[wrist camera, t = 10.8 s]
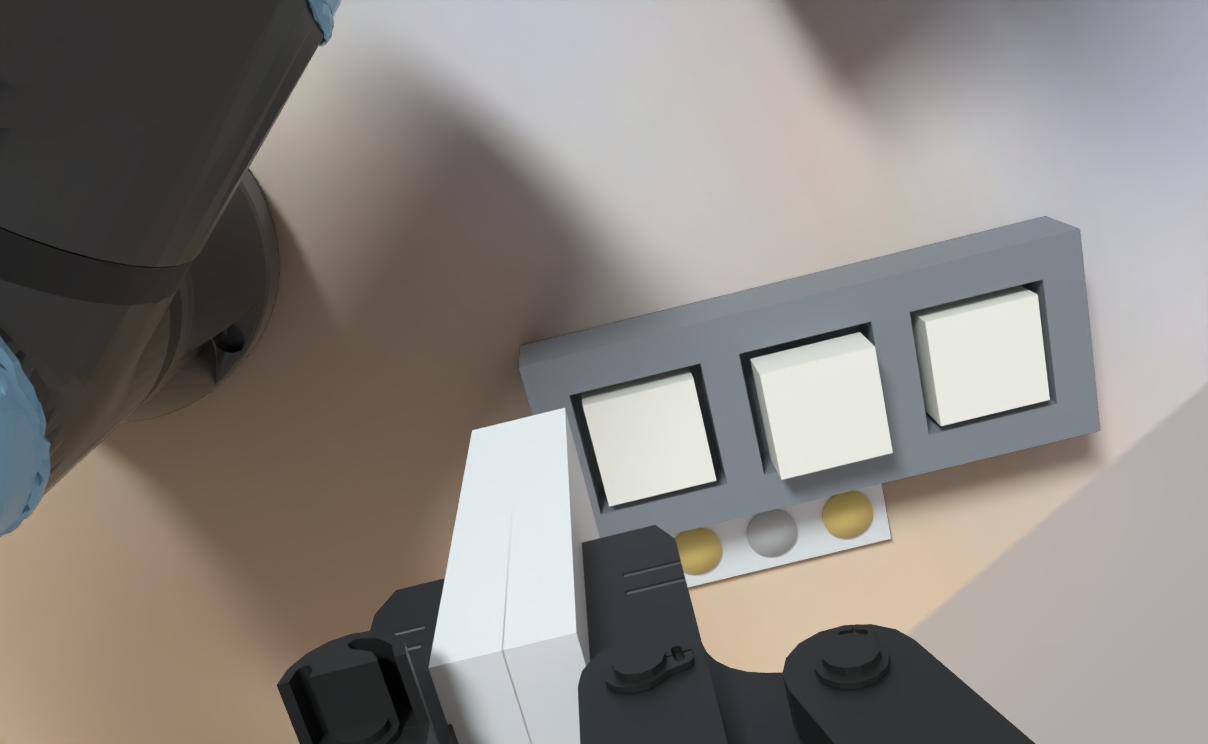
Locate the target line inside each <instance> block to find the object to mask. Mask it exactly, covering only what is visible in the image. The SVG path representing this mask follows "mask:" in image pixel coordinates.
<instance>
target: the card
mask: <svg viewBox="0 0 1208 744" xmlns="http://www.w3.org/2000/svg"><path fill="white" fill-rule="evenodd" d="M670 536H672V537H673V538H675V540H676V544H677V548H678V552H679V555H680V559H681V563H682V567H683V571H684V575H685V579H686V583H687V587H692V586H696V585H700V584H704V583H709V582H713V581H717V580H721V579H725V578H729V577H734V576H738V575H742V574H746V573H750V572H754V571H759V570H763V569H767V568H771V567H775V566H779V565H783V564H788V563H792V562H796V561H800V560H804V559H808V558H813V557H817V556H821V555H825V554H829V553H833V552H838V551H842V550H846V549H850V548H854V547H858V546H863V545H867V544H871V543H875V542H879V541H883V540H888V539H891V536H890V530H889V524H888V519H887V513H886V507H885V501H884V496H883V490H882V484H878V485H874V486H870V487H866V488H862V489H858V490H853V491H849V492H845V493H841V494H837V495H833V496H829V497H824V498H820V499H816V500H812V501H808V502H804V503H800V504H795V505H791V506H787V507H783V508H779V509H775V510H771V511H767V512H762V513H758V514H754V515H750V516H746V517H742V518H738V519H733V520H729V521H725V522H721V523H717V524H713V525H709V526H704V527H700V528H696V529H692V530H688V531H684V532H680V533H675V534H671V535H670Z"/></svg>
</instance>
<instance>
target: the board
mask: <svg viewBox="0 0 1208 744" xmlns="http://www.w3.org/2000/svg"><path fill="white" fill-rule="evenodd" d="M1018 285H1021V286H1022V287H1024V288H1026V289H1028V290H1030V291H1032V292H1034V293H1036V294H1037V295H1038V302H1039V310H1040V319H1041V327H1042V336H1043V345H1044V353H1045V362H1046V371H1047V379H1048V388H1049V397H1050V400H1047V401H1043V402H1039V403H1035V404H1031V405H1026V406H1022V407H1018V408H1014V409H1010V410H1006V411H1002V412H998V413H994V414H989V415H985V416H981V417H977V418H973V419H969V420H965V421H961V422H956V423H952V424H948V425H944V426H940V425H939V424H938V423H937V422H936V421H935V420H934V419H933V418H932V417H931V416H930V415H929V414H928V413H927V412H926V411H925V407H924V401H923V394H922V388H921V381H920V375H919V368H918V362H917V356H916V349H915V343H914V336H913V330H912V323H911V317H910V312H912V311H916V310H920V309H924V308H928V307H932V306H936V305H941V304H945V303H949V302H953V301H957V300H961V299H965V298H969V297H973V296H977V295H981V294H985V293H989V292H994V291H998V290H1002V289H1006V288H1010V287H1014V286H1018ZM858 332H860V333H861V334H862V335H863V336H864V337H866V338H867V339H868V340H869V341H870V342H871V343H872V344H873V345H874V346H875V349H876V355H877V361H878V367H879V373H880V379H881V385H882V391H883V397H884V403H885V409H886V415H887V421H888V427H889V433H890V439H891V445H892V451H893V453H890V454H886V455H882V456H878V457H874V458H870V459H866V460H862V461H857V462H853V463H849V464H845V465H841V466H837V467H833V468H828V469H824V470H820V471H816V472H812V473H808V474H804V475H800V476H795V477H791V478H787V479H783V480H781V478H780V476H779V474H778V472H777V470H776V469H775V467H774V465H773V463H772V461H771V458H770V453H769V448H768V443H767V439H766V434H765V429H764V424H763V419H762V414H761V410H760V405H759V400H758V395H757V390H756V385H755V381H754V376H753V371H752V366H751V361H750V359H752V358H756V357H760V356H764V355H768V354H772V353H776V352H780V351H784V350H788V349H793V348H797V347H801V346H805V345H809V344H813V343H817V342H821V341H825V340H829V339H833V338H837V337H841V336H846V335H850V334H854V333H858ZM684 367H689V370H690V372H691V374H692V377H693V379H694V383H695V388H696V392H697V397H698V401H699V406H700V410H701V414H702V419H703V423H704V428H705V432H706V437H707V441H708V445H709V450H710V454H711V459H712V463H713V468H714V472H715V476H716V481H713V482H709V483H705V484H700V485H696V486H692V487H688V488H684V489H680V490H676V491H672V492H667V493H663V494H659V495H655V496H651V497H647V498H643V499H639V500H634V501H630V502H626V503H622V504H618V505H614V506H610V507H609V504H608V500H607V496H606V493H605V489H604V485H603V481H602V477H601V474H600V470H599V466H598V462H597V458H596V455H595V451H594V447H593V443H592V439H591V436H590V432H589V428H588V424H587V420H586V417H585V413H584V409H583V404H582V394H581V393H582V392H586V391H590V390H594V389H598V388H602V387H606V386H610V385H614V384H618V383H622V382H626V381H631V380H635V379H639V378H643V377H647V376H651V375H655V374H659V373H663V372H667V371H671V370H675V369H680V368H684ZM519 371H520V374H521V378H522V382H523V385H524V389H525V392H526V396H527V399H528V403H529V407H530V410H531V414H532V416H533V415H537V414H541V413H545V412H549V411H553V410H557V409H562V408H565V410H566V413H567V417H568V421H569V425H570V428H571V432H572V436H573V440H574V443H575V447H576V451H577V454H578V458H579V462H580V466H581V469H582V473H583V477H584V480H585V484H586V488H587V492H588V495H589V499H590V503H591V507H592V510H593V514H594V518H595V521H596V525H597V529H598V533H599V536H600V538H603V537H607V536H611V535H615V534H619V533H623V532H627V531H631V530H636V529H640V528H644V527H648V526H652V525H656V526H658V527H659V528H661V529H662V530H663V531H665V532H666V533H668V534H669V535H671V534H675V533H680V532H684V531H688V530H692V529H696V528H700V527H704V526H709V525H713V524H717V523H721V522H725V521H729V520H733V519H738V518H742V517H746V516H750V515H754V514H758V513H762V512H767V511H771V510H775V509H779V508H783V507H787V506H791V505H795V504H800V503H804V502H808V501H812V500H816V499H820V498H824V497H829V496H833V495H837V494H841V493H845V492H849V491H853V490H858V489H862V488H866V487H870V486H874V485H878V484H882V483H887V482H891V481H895V480H899V479H903V478H907V477H911V476H916V475H920V474H924V473H928V472H932V471H936V470H940V469H945V468H949V467H953V466H957V465H961V464H965V463H969V462H974V461H978V460H982V459H986V458H990V457H994V456H998V455H1002V454H1007V453H1011V452H1015V451H1019V450H1023V449H1027V448H1031V447H1036V446H1040V445H1044V444H1048V443H1052V442H1056V441H1060V440H1065V439H1069V438H1073V437H1077V436H1081V435H1085V434H1089V433H1094V432H1098V431H1100V422H1099V412H1098V402H1097V392H1096V382H1095V373H1094V363H1093V353H1092V343H1091V333H1090V323H1089V313H1088V303H1087V293H1086V283H1085V273H1084V264H1083V254H1082V244H1081V234H1080V229H1079V228H1076V227H1073V226H1071V225H1068V224H1065V223H1062V222H1060V221H1057V220H1054V219H1052V218H1049V217H1046V216H1044V217H1040V218H1036V219H1032V220H1028V221H1024V222H1020V223H1016V224H1011V225H1007V226H1003V227H999V228H995V229H991V230H987V231H983V232H979V233H975V234H971V235H967V236H963V237H959V238H955V239H951V240H947V241H943V242H938V243H934V244H930V245H926V246H922V247H918V248H914V249H910V250H906V251H902V252H898V253H894V254H890V255H886V256H882V257H878V258H874V259H870V260H865V261H861V262H857V263H853V264H849V265H845V266H841V267H837V268H833V269H829V270H825V271H821V272H817V273H813V274H809V275H805V276H801V277H797V278H792V279H788V280H784V281H780V282H776V283H772V284H768V285H764V286H760V287H756V288H752V289H748V290H744V291H740V292H736V293H732V294H728V295H724V296H719V297H715V298H711V299H707V300H703V301H699V302H695V303H691V304H687V305H683V306H679V307H675V308H671V309H667V310H663V311H659V312H655V313H651V314H646V315H642V316H638V317H634V318H630V319H626V320H622V321H618V322H614V323H610V324H606V325H602V326H598V327H594V328H590V329H586V330H582V331H578V332H573V333H569V334H565V335H561V336H557V337H553V338H549V339H545V340H541V341H537V342H533V343H529V344H525V345H521V346H520V354H519Z"/></svg>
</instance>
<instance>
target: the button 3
mask: <svg viewBox="0 0 1208 744" xmlns="http://www.w3.org/2000/svg"><path fill="white" fill-rule="evenodd" d="M910 317H911V323H912V330H913V336H914V343H915V349H916V356H917V362H918V368H919V375H920V381H921V388H922V394H923V401H924V407H925V411H926V412H927V413H928V414H929V415H930V416H931V417H932V418H933V419H934V420H935V421H936V422H937V423H938V424H939V425H940V426H944V425H948V424H952V423H956V422H961V421H965V420H969V419H973V418H977V417H981V416H985V415H989V414H994V413H998V412H1002V411H1006V410H1010V409H1014V408H1018V407H1022V406H1026V405H1031V404H1035V403H1039V402H1043V401H1047V400H1050V397H1049V388H1048V379H1047V371H1046V362H1045V353H1044V345H1043V336H1042V327H1041V319H1040V310H1039V302H1038V295H1037V294H1036V293H1034V292H1032V291H1030V290H1028V289H1026V288H1024V287H1022V286H1021V285H1018V286H1014V287H1010V288H1006V289H1002V290H998V291H994V292H989V293H985V294H981V295H977V296H973V297H969V298H965V299H961V300H957V301H953V302H949V303H945V304H941V305H936V306H932V307H928V308H924V309H920V310H916V311H912V312H910Z"/></svg>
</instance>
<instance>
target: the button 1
mask: <svg viewBox="0 0 1208 744" xmlns="http://www.w3.org/2000/svg"><path fill="white" fill-rule="evenodd" d="M581 394H582V404H583V409H584V413H585V417H586V420H587V424H588V428H589V432H590V436H591V439H592V443H593V447H594V451H595V455H596V458H597V462H598V466H599V470H600V474H601V477H602V481H603V485H604V489H605V493H606V496H607V500H608V504H609V507H610V506H614V505H618V504H622V503H626V502H630V501H634V500H639V499H643V498H647V497H651V496H655V495H659V494H663V493H667V492H672V491H676V490H680V489H684V488H688V487H692V486H696V485H700V484H705V483H709V482H713V481H716V476H715V472H714V468H713V463H712V459H711V454H710V450H709V445H708V441H707V437H706V432H705V428H704V423H703V419H702V414H701V410H700V406H699V401H698V397H697V392H696V388H695V383H694V379H693V377H692V374H691V372H690V370H689V367H684V368H680V369H675V370H671V371H667V372H663V373H659V374H655V375H651V376H647V377H643V378H639V379H635V380H631V381H626V382H622V383H618V384H614V385H610V386H606V387H602V388H598V389H594V390H590V391H586V392H582V393H581Z"/></svg>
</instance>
